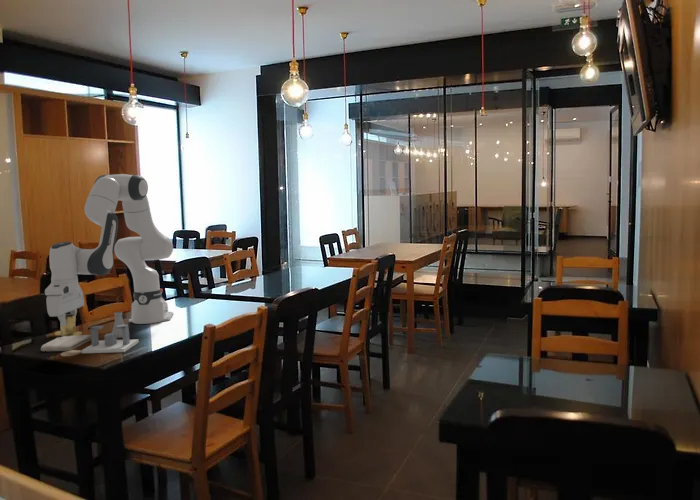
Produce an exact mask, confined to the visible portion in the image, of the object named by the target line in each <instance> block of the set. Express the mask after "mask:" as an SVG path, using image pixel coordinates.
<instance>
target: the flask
mask: <svg viewBox="0 0 700 500" xmlns="http://www.w3.org/2000/svg"><path fill="white" fill-rule="evenodd" d="M113 315H114V324H113V327H112V331H111V333H116V339H120V338H121V339H123V338H122V329H116V326H118V325H126V324H125V322H124V318H123V312H122V311H117V312H114V313H113ZM130 334H131V333H129V336H130Z"/></svg>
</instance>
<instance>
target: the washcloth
mask: <svg viewBox="0 0 700 500" xmlns="http://www.w3.org/2000/svg"><path fill="white" fill-rule="evenodd" d="M90 341H91V334H82V335H79V336H75V335H73V336H61V337H60V336H58V337H56V338H55V339H52V340H50V341H48V342H46V343H44V344H42V345H41V347H40V351H41V352H45V351H46V352H66V351H72V350H76V349H77V348H78V347H80V346H82V345H84V344H86V343H88V342H90Z"/></svg>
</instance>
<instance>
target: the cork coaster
mask: <svg viewBox="0 0 700 500" xmlns="http://www.w3.org/2000/svg"><path fill="white" fill-rule="evenodd" d="M80 354H83V353H82V350H78V349H73V350H71V351H62V353H60V356H61V357H74V356H78V355H80Z"/></svg>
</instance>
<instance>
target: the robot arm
mask: <svg viewBox="0 0 700 500" xmlns="http://www.w3.org/2000/svg"><path fill="white" fill-rule="evenodd" d="M148 190H149V185H148V182H147V180H146V179H145V178H144V177H143V176H141V175H138V174H133V175H132V174H129V173H128V174H126V173H120V174H119V173H118V174H101V175H99V176H98V177H97V178H96V179H95V181H94V184H93V186H92V187H91V189H90V192H89V194H88V196H87V198H86V201H85V204H84V209H83V210H84V214H85V216H86V217H87V219H88V220H89V221H90V222H91V223H94V224H96V225H97V226H99V227H101V231H100V236H99V237H100V238H99V242H98V246H97V247H95V248H90V249H89V248H80V247H78V246H76V245H74V243H73V242H71V241H62V242H56V243H54V244H52V245H51V246H50V248H49V258H48V259H49V260H48V261H49V269H50V271H51V278H50V281H51V282H50V284H49V285H48V286H47V287H46V288H45V289H44V295H45V296H46V299H45V300H46V311H47V314H48V316H49V317H50V318H51V317H57V319H58V320H59V322H60V323H59V324H61V326H65V325H67V320H66V319H65V314H68V313H69V314H74V315H75V322H76V321H77V318H76V316H77V313H78V309H80V308H81V307H84V306H85V299H84V292H83V290H82V289H83V288H81V285H80V284H79V278H78V277H79V276H78V275H85V276H86V275H88V276H89V275H93V276H99V277H100V276H101V277H102V276H106V275H107V274H109V273H110V271H111V270H112V268H113V267H114V264H115V263H114V262H115V258H114V257H115V256H116V257H117V259H118V260H120V261H121V262H122V263H124V264H125V265H126V266H127V268H128V269H129V271H130V273H131V277H132V281H133V290H134V291H133V300H134V301H133V302H131V318H129V319H128V322H129V323H133V324H136V325H137V324H138V325H143V324H144V325H145V324H146V325H148V324H154V323H155V324H157V323H160V322H167V321H170V320H171V319H172V317H173V315H174V312H173V311H169V305H168V302H167V301H166V300H165V298H164V297H163V295H162V293H164V291H163V288H160V287H161V286H160V275H159V273H158V271H157V270H156V269H154V268H152V267H149V266H148V265H147V263H146V261H157V260H158V261H161V260H164V259H168V258H170V257H171V256H172V254H173V251H174V244H173V242H172V240H171V238H170V237H168V236H166V235H164V234H163V233H162V232H161V231H160V230H159V229H158V228H157V227H156V225H155V223H154V221H153V217H152V213H151V207H150V202H149V199H148V195H147V194H148ZM119 201H121V204H122V211H123V215H124V216H123V217H124V222H125V226H126V227H127V228H128V229H129V230H130V231H131V232H135V233H136V234H138V235H139V236H128V237H124V238H119V239H118V240H117V236H118V229H119V219H118V218H119V217H118V216H117V214H116V209H117V206H118V202H119ZM114 254H115V256H114Z"/></svg>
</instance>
